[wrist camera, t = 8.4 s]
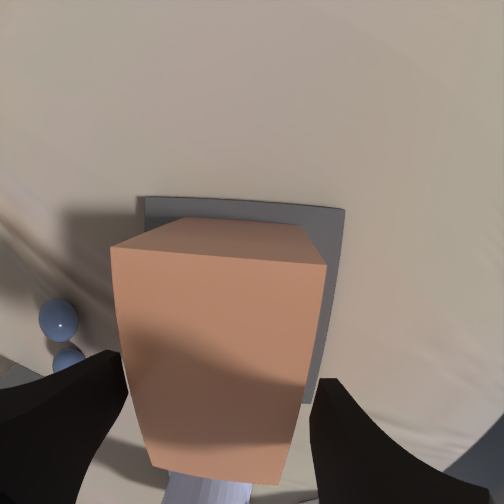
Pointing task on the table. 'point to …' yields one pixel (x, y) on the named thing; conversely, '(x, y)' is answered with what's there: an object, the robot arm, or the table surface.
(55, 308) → the marble
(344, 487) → the robot arm
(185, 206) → the charcoal mat
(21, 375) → the grey rectangular block
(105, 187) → the table surface
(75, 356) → the marble
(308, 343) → the salmon rectangular prism
